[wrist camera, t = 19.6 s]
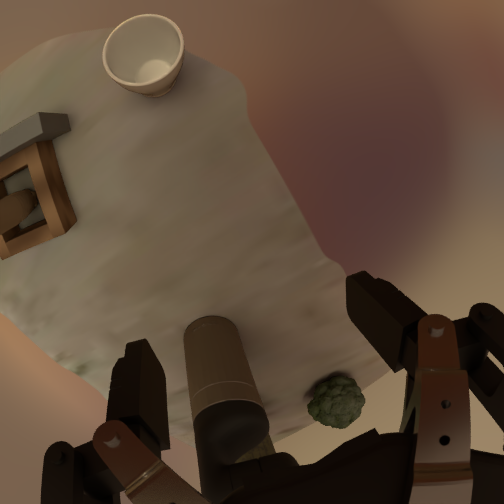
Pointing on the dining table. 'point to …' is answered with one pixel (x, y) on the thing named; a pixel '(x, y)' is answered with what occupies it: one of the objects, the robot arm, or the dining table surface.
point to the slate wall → (32, 132)
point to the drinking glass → (145, 54)
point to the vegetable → (337, 402)
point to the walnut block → (49, 195)
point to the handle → (16, 208)
